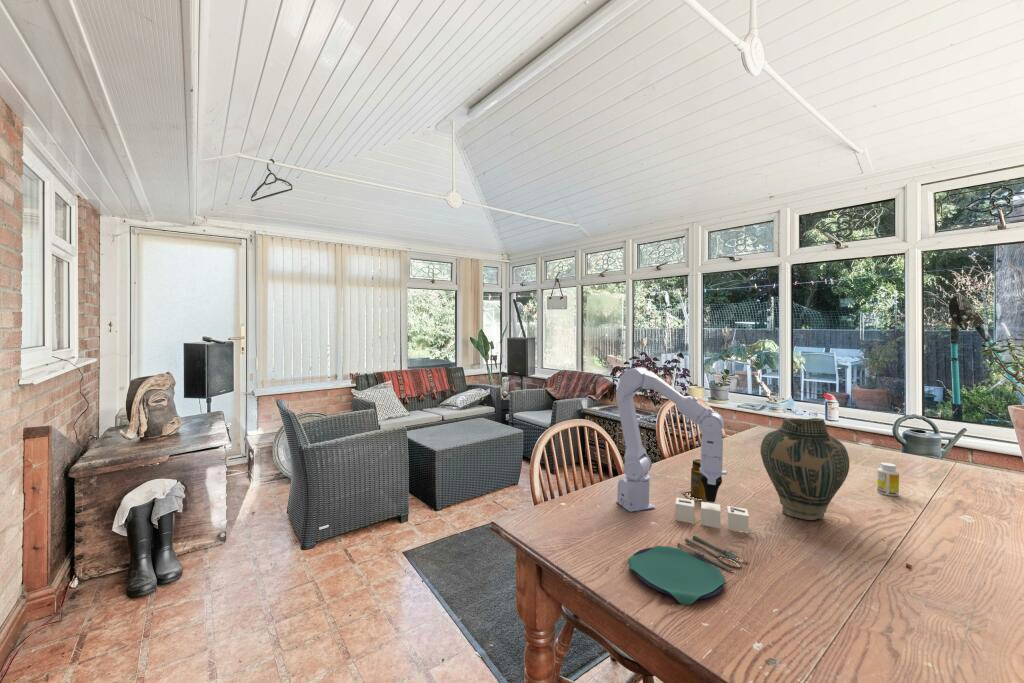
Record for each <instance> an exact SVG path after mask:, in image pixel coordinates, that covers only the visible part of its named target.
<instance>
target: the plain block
mask: <svg viewBox="0 0 1024 683" xmlns="http://www.w3.org/2000/svg"><path fill="white" fill-rule="evenodd" d="M700 508H701V509H700V526H704V525H705V527H710V526H711V527H710V528H715V527H717V528H716V529H721V518H722V517H721V514H722V513H721V512H722V511H721V510H722V509H721V504H717V503H714V502H708V501H700Z"/></svg>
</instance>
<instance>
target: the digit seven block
mask: <svg viewBox="0 0 1024 683" xmlns="http://www.w3.org/2000/svg"><path fill="white" fill-rule="evenodd" d="M726 506H727V510H726V511H727V512H726V523H727V524H726V525H728V526H727V530H728V529H730V530H729V531H731V530H736V531H743V532H748V533H749V529H750V528H749V527H750V526H749V525H750V523H749V522H750V520H749V519H750V515H749V511H748V508H742V507H736V506H730V505H726ZM736 531H735V532H736Z"/></svg>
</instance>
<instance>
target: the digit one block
mask: <svg viewBox="0 0 1024 683" xmlns="http://www.w3.org/2000/svg"><path fill="white" fill-rule="evenodd" d="M674 510H675V514H674V516H675V518H674V519H675V521H678V520H679V521H678V522H685V523H690V524H694V523H695V501H694V500H690V499H689V498H683V497H676V499H675V509H674Z"/></svg>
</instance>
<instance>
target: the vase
mask: <svg viewBox="0 0 1024 683" xmlns="http://www.w3.org/2000/svg"><path fill="white" fill-rule="evenodd" d="M760 455H761V459H762V464H763V466H764V469H765V471H766V473H767V476H768V477H769V479H770V481H771V483H772V485H773V486H774V489H775V490H776V493H777V495H778V498H779V504H780V505H782V507H781V509H782V510H781V512H782V513H783V514H784V515H787V516H789V517H793V518H797V519H800V520H801V519H802V520H807V521H814V520H815V521H816V520H818V519H823V518H824V517H825V513H827V509H828V507H829V504H830V503H831V501H832V500H833V498H834V497H835V496H836V494H837V493H838V491H839V490H840V488H841V487H842V485H843V484H844V483H845V481H846V479H847V477H848V475H849V471H850V457H849V453H848V451H847V448H846V446H845V445H844V444H843V443H842V442H841V441H840V440H838V439H837V438H834V437H832V436H831V435H830V434H829V432H828V430H827V425H826V422H825V420H824V418H817V417H814V418H793V417H789V418H783V419H782V424H781V426H780V428H778V429H776V430H774V431H773V430H772V431H770V432H768V433H767V434H765V435H764V437H763V439H762V441H761V445H760Z"/></svg>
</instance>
